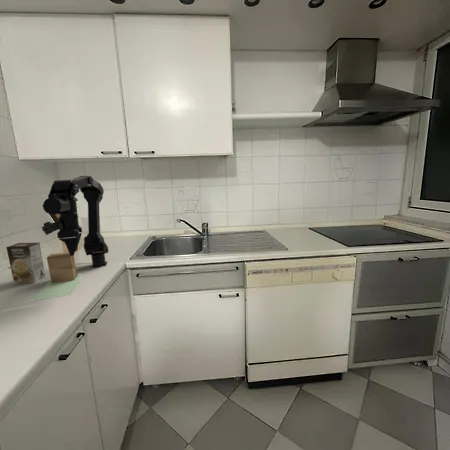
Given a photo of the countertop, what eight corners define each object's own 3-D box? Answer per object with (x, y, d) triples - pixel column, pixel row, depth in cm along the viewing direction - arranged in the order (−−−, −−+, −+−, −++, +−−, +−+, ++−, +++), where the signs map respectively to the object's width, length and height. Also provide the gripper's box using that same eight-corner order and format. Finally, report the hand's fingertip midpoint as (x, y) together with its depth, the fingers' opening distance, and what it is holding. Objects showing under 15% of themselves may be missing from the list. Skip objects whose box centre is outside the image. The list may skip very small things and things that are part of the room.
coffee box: (13, 285, 96) (4, 247, 93) (25, 278, 102) (18, 242, 100) (36, 283, 96) (28, 245, 93) (47, 277, 103) (40, 241, 100)
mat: (52, 278, 101) (52, 277, 101) (84, 273, 105) (83, 272, 105) (30, 302, 81) (30, 301, 81) (71, 295, 85) (71, 294, 85)
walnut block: (55, 279, 99) (51, 254, 97) (77, 275, 102) (73, 251, 100) (51, 283, 95) (46, 257, 93) (74, 280, 97) (70, 254, 95)
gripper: (47, 214, 94) (52, 252, 96) (36, 215, 78) (42, 261, 79) (79, 212, 99) (84, 248, 101) (75, 213, 83) (80, 256, 85)
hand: (73, 253), depth 91 cm, fingers open, 9 cm apart
